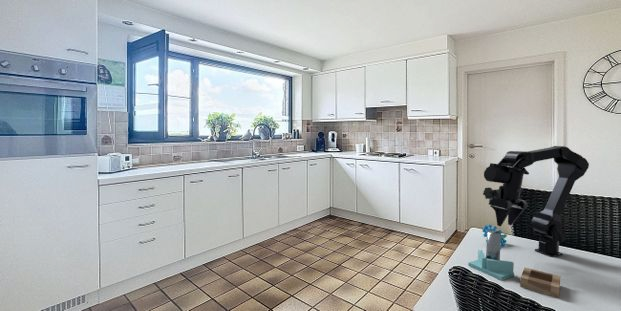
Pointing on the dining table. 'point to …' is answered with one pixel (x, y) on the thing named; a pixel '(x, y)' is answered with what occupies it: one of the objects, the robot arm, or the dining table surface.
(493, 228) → the gear
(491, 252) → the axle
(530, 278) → the block
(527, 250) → the dining table surface
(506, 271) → the v block
